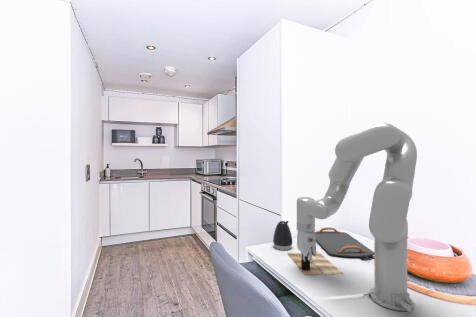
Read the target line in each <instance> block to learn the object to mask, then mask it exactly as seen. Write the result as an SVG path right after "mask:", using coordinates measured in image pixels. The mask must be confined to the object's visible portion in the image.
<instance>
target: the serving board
mask: <svg viewBox="0 0 476 317" xmlns="http://www.w3.org/2000/svg"><path fill="white" fill-rule="evenodd" d="M315 239H316V243H317V244H318V245H319V246H320V247H321V248H322V249H323V250H324V251H325V252H326V253H327V254H328V255H329V256H332V257H345V258H366V257H367V258H369V259H373V258H374V250H372V249H371V248H368V247H367V246H366V245H364V244H363V243H361V242H360V241H359V240H358V239H357V238H355V237H353V236H351V235H350V234H349V233H348V232H344V231H340V230H337V229H336V228H334V227H329V226H327V227H322V228H320V229H319V230H317V231H315Z"/></svg>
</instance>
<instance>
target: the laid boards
mask: <svg viewBox="0 0 476 317" xmlns="http://www.w3.org/2000/svg"><path fill="white" fill-rule="evenodd" d="M311 262H312V263H313V264H314V265H315V266H316V267H317V268H318V269H319V270H320V271H321V272H322V273H323V275H324V276H334V275H336V276H339V275H344V273H343V272H342V271H341V270H340V269H339V268H338V267H337V266H336V265H335V264H334V263H332V261H330V260H329V259H327V257H326V256H324V255H323V254H322V253H321V252H320V251H317V250H316V256H313V255H312V261H311Z"/></svg>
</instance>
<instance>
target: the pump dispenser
mask: <svg viewBox="0 0 476 317" xmlns="http://www.w3.org/2000/svg"><path fill="white" fill-rule="evenodd" d="M288 224H289V220H280V221H279V222H277V225H276V226H275V229H274V233H273V236H272V237H273V238H272V243H273V245H274V248H275V249H277V250H279V251H289V250H290V249H291V248H292V245H293V236H292V232H291V228H290V226H289V225H288Z"/></svg>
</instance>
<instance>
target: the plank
mask: <svg viewBox="0 0 476 317" xmlns="http://www.w3.org/2000/svg"><path fill="white" fill-rule="evenodd" d="M287 255H288V256H289V258H290V259H291V260H292V262H293V263H294V264H295V265H296V266H297V268H298V269H299V270H300V271H301V272H302V273H303V275H304V276H319V275H324V273H323V272H322V271H321V270H320V269H319V268H318V267H317V266H316V265H315V264H314V263H313V262H312V261H310V270H302V269H301V260H303V259H301V252H287Z"/></svg>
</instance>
